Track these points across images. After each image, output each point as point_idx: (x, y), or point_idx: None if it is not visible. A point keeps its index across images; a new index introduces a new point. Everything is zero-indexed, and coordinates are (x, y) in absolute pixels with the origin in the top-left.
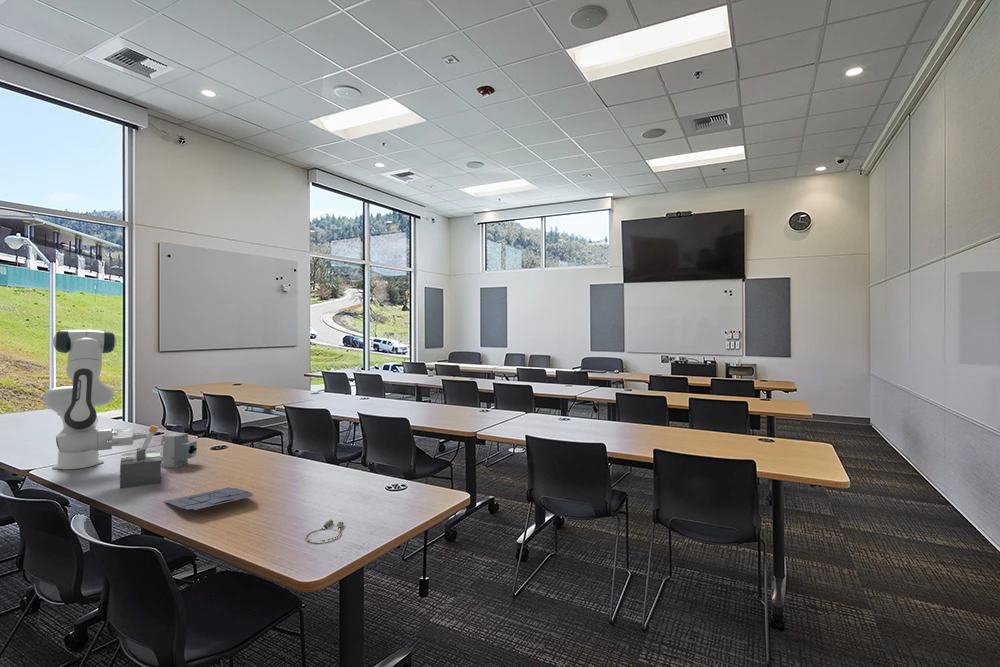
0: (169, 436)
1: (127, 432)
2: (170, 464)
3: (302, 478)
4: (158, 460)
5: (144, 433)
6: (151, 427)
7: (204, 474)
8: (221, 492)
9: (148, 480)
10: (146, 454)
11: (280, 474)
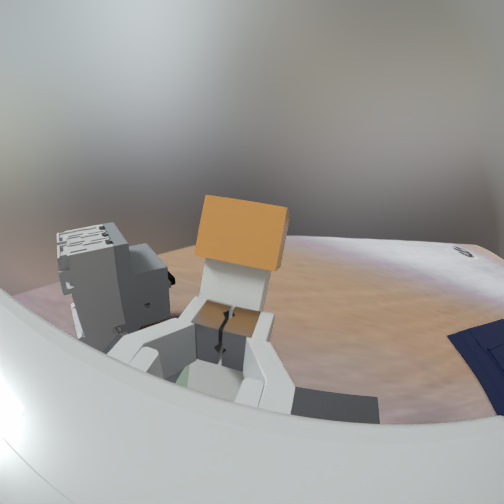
0: (91, 252)
1: (74, 417)
2: None
3: (418, 270)
4: (377, 405)
5: (227, 311)
6: (283, 224)
7: (306, 341)
8: (495, 345)
9: None
10: None
11: (386, 274)
